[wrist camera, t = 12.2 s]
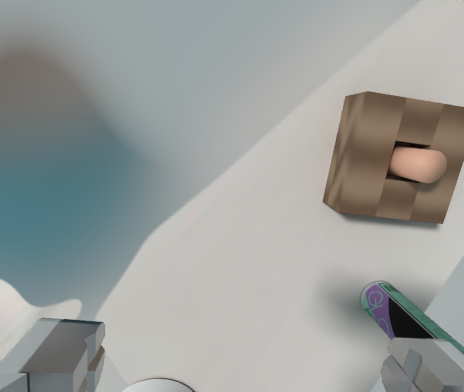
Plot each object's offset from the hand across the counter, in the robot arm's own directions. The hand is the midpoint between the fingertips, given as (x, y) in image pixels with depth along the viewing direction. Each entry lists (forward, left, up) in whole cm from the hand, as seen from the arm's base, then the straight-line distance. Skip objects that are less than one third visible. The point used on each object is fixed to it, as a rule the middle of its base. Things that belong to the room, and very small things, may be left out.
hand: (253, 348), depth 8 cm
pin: (+5, -22, -28) cm, 36 cm away
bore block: (+5, -22, -29) cm, 37 cm away
